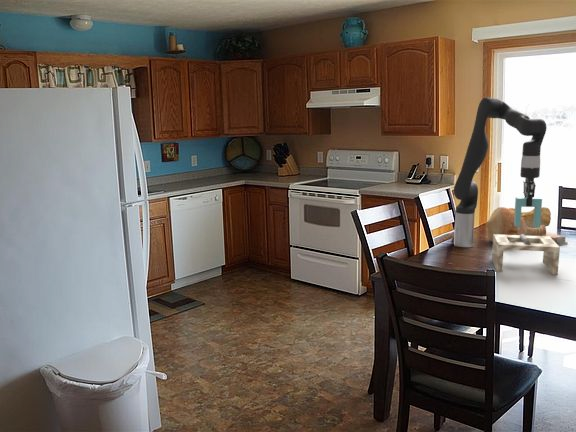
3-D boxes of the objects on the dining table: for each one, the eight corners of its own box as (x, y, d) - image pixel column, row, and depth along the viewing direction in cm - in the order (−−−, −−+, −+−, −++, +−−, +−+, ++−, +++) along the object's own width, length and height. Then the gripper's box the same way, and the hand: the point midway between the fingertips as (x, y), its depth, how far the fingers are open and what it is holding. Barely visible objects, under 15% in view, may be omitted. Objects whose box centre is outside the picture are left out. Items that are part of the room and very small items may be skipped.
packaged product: (569, 235, 284) (554, 237, 281) (568, 244, 285) (553, 246, 282) (541, 228, 301) (527, 230, 297) (541, 237, 302) (526, 239, 298)
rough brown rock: (549, 231, 317) (550, 205, 316) (550, 235, 302) (551, 208, 301) (506, 229, 326) (507, 204, 325) (504, 233, 311) (505, 207, 310)
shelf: (497, 271, 239) (499, 241, 237) (491, 259, 259) (493, 231, 256) (557, 274, 234) (560, 244, 231) (547, 262, 253) (549, 233, 250)
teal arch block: (515, 226, 242) (517, 198, 240) (513, 225, 246) (515, 197, 244) (540, 227, 240) (542, 199, 237) (538, 225, 244) (540, 197, 241)
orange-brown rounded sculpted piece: (476, 216, 299) (529, 221, 302) (480, 248, 291) (534, 253, 294) (493, 199, 281) (549, 204, 284) (497, 233, 273) (555, 238, 276)
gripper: (518, 164, 246) (516, 202, 249) (524, 167, 232) (521, 208, 235) (536, 164, 244) (534, 203, 247) (543, 167, 230) (540, 208, 233)
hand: (527, 205), depth 241 cm, fingers closed on teal arch block, 4 cm apart
